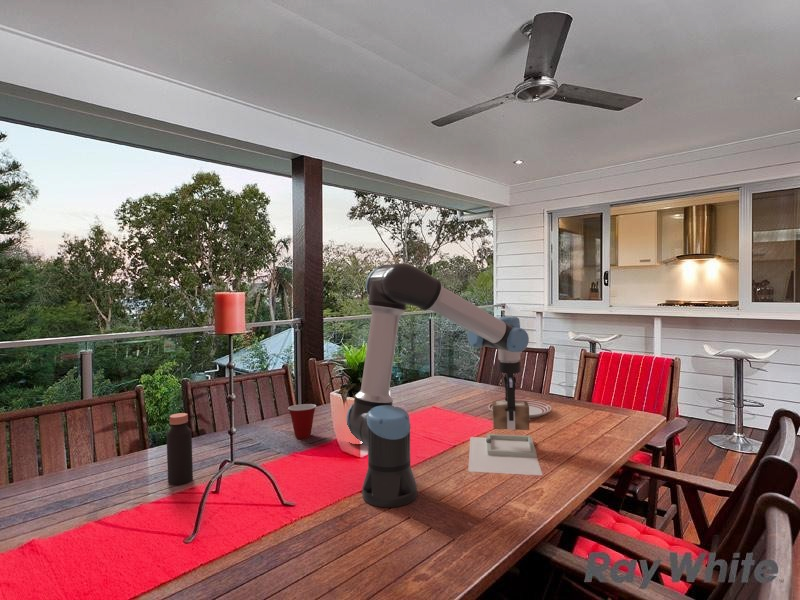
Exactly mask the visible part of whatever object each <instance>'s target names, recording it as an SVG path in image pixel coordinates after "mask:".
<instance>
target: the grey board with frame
mask: <svg viewBox="0 0 800 600" xmlns="http://www.w3.org/2000/svg"><path fill="white" fill-rule="evenodd" d="M469 438H470V439H469V457H468V468H467V470H468V471H467V472H470V473H471V472H472V473H488V474H489V473H490V474H507V475H512V474H513V475H524V476H525V475H527V476H543V471H542V469H541V466H540V463H539V460H538V456H537V454H538V453H537V451H536V447H535V445H534V444H535V443H534V442H533V438H532V435H519V434H517V435H516V434H494V433H493V434H492V433H490V434H489V433H487V434H486V437H475V436H471V437H469Z"/></svg>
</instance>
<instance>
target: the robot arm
mask: <svg viewBox="0 0 800 600" xmlns="http://www.w3.org/2000/svg"><path fill="white" fill-rule="evenodd" d="M365 289H366V290H365V291H366V294H367V295H368V302H367V307H368V309H369V310H370V311H371V316H370V325H369V331H368V337H367V344H366V352H365V357H364V358H365V359H364V365H363V373H362V379H361V386H360V390H359V391H358V392H356V394H355V395H354V398H353V399H354V401H353V403H352V405H350V406H349V408H348V411H347V412H346V422H347V425H348V427H349V429H350V431H351V433H352V434H353V435H354V436H355V437H356V438H357V439H359V440H360V441H362V442H363V444H364V445H365V446H366V447H367V470H366V473H365V477H364V481H363V484H362V489H361V491H362V493H361V494H362V495H361V496H362V499H363V501H364V502H365V503H367V504H369V505H371V506H375V507H379V508H397V507H402V506H403V507H404V506H406V505H409V504H411V503H413V501H415V500H416V498H417V497H418V485H417V482H416V479H415V476H414V472H413V470H412V467H411V420H410V415H409V413H408V412H407V411H406V410H405V409H404V408H402V407H399V406H394V405H393V404H394V403H393V401H394V400H393V398H392V397H391V395H390V388H391V386H390V385H391V380H392V371H393V367H394V366H393V365H394V359H395V352H396V344H397V339H398V338H397V337H398V331H399V324H400V323H399V322H400V318H401V315H403V314H404V313H405V312H406V309H407V305H408V306H409V305H410V306H414V307H416V308H419V309H420V310H422V311H429V310H430V311H432V312H434V313H435V314H437V315H439V316H441V317H443V318H445V319H446V320H448V321H450V322H452V323H454V324H456V325H458V326H460V327H462V328H464V329H466V330H467V333H466V334H467V338H466V339H467V341H468V343H469V345H470V346H471V347H473V348H483V347H484V348H485V347H486V348H491V349H496V350H497V356H498V357H497V359H498V372H499V373H501V374H504V376H503V383H504V385H503V386H504V389H505V390H504V391H505V392H504V394H505V395H504V396H505V397H504V400H506V401H507V409H505V411H507V429H506V430H507V431H508V430H509V431H515V410H516V408H515V400H516V388H517V387H516V383H517V378H516V376H515V374H519V373H521V372H522V371H521V370H522V369H521V368H522V366H521V365H522V364H521V355H522V354H523V351H525V350H526V349H527V347H528V345H529V339H530V338H529V333H528V332H527V330H525V329H523V328H521V321H520V318H519V317H518V316H499V317H496V316H494V314H493V315H492V314H491V313H489V312H487V311H485V310H484V309H482V308H480V307H479V306H477V305H475V304H473V303H472V302H470V301H468V300H467V299H465V298H463V297H461V296H459V295H457V294H456V293H454V292H452V291H450V290H449V289H447V288H445V287H444V286H443V283H442V281H440V279H437V278H436V277H433V276H432V275H430V274H428V273H427V272H425V271H424V270H422V269H420V268H418V267H416V266H414V265H411V264H409V263H406V262H405V263H403V262H401V263H391V264H383V265H380V266H377V267H375V268H374V269H373V270H371V272H370V273H369V274H368V275H367V278H366V281H365Z"/></svg>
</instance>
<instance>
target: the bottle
mask: <svg viewBox="0 0 800 600" xmlns="http://www.w3.org/2000/svg"><path fill="white" fill-rule="evenodd" d="M188 415H189V414H188V413H185V412H180V413H179V412H178V413H173V414H171V415H169V426H170V429H169V430H168V431H167V433H166V460H167V461H166V463H167V484H169V485H170V486H173V487H175V486H177V487H179V486H183V485H186V484H189V483H191V482H192V480H193V479H194V473H193V472H194V469H193V441H192V435H193V434H192V429H191V428H190V427H189V426H188V422H189V416H188Z"/></svg>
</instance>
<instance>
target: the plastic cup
mask: <svg viewBox="0 0 800 600" xmlns="http://www.w3.org/2000/svg"><path fill="white" fill-rule="evenodd" d="M316 407H317V405H316V404H313V403H303V404H301V403H300V404H295V405H290V406H289V407H288V408H287V409H288V411H289V415H290V418H291V423H292V428H293V431H294V436H295V438H296V439H299V440H300V439H301V440H304V439H309V438H310V437H311V435H312V428H313V424H314V423H313V422H314V417H315V416H314V415H315V410H316Z"/></svg>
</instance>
